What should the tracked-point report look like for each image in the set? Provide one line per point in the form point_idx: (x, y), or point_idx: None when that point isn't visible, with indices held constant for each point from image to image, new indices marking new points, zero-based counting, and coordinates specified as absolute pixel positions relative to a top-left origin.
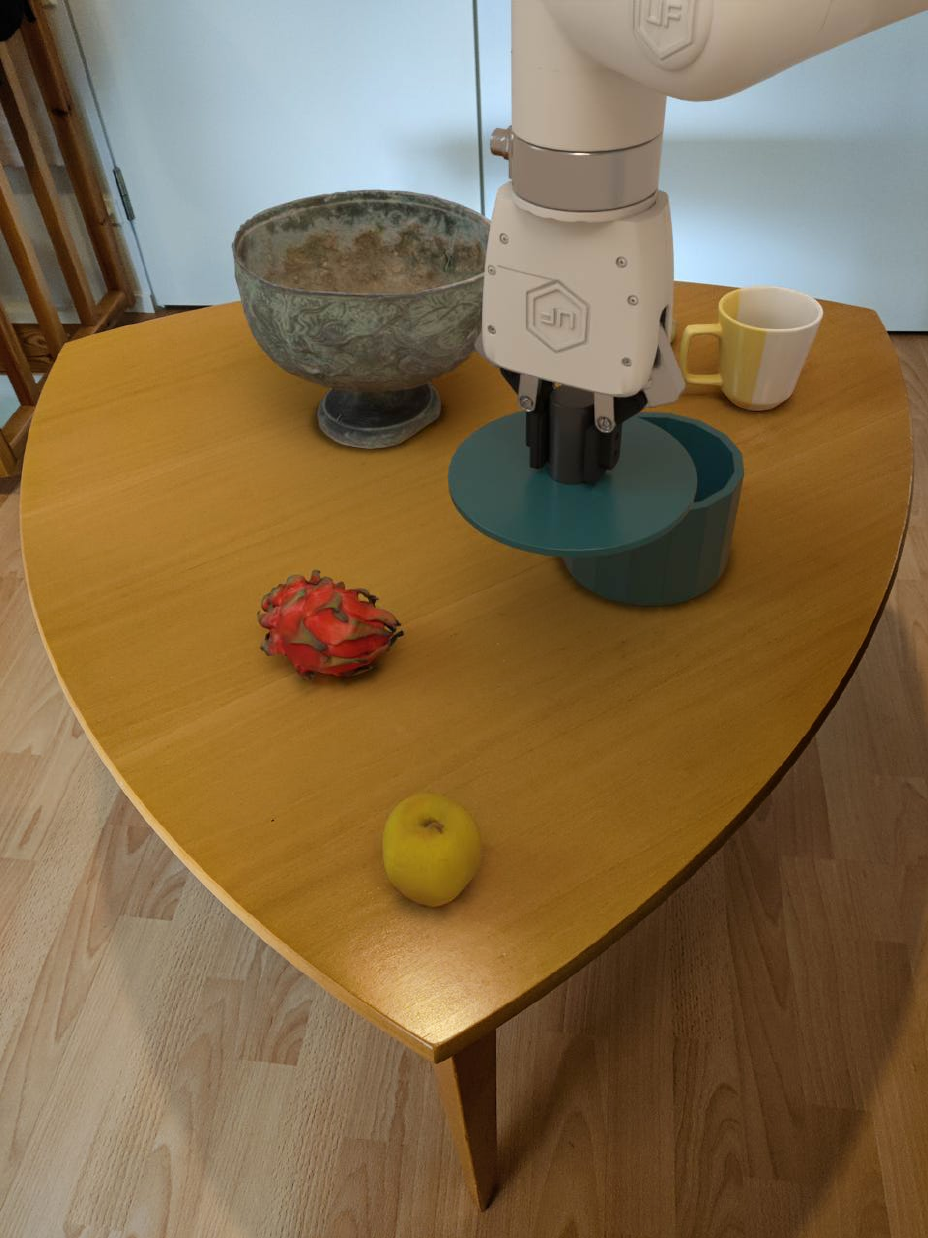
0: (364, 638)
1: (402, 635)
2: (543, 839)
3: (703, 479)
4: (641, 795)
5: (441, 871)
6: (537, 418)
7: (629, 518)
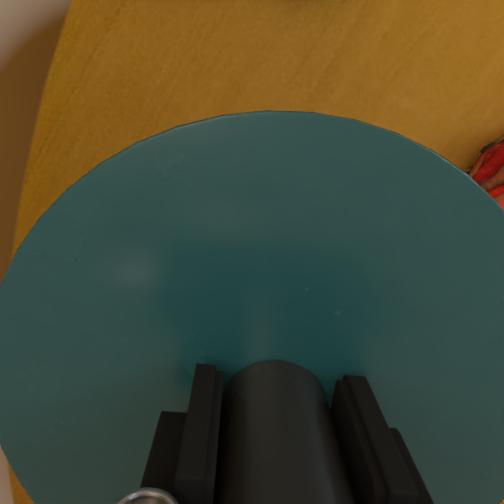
0: (500, 167)
1: None
2: (198, 18)
3: None
4: (125, 119)
5: None
6: (389, 487)
7: (83, 297)
